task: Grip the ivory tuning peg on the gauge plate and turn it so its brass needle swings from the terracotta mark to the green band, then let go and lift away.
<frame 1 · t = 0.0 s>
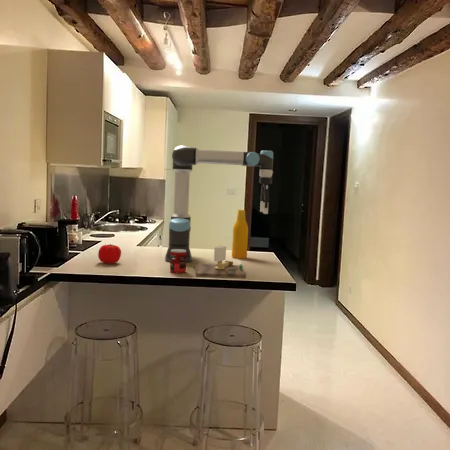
hand: (263, 212, 280), 28 cm above the countertop, tool pointing down, fingers open, 13 cm apart
tomato: (109, 263, 251), on the countertop
beer bottle: (239, 257, 285), on the countertop
canned food: (177, 272, 236), on the countertop
tuning peg: (222, 256, 243), point 7 cm above the countertop, hinge at -30.0°
gauge plate: (219, 271, 241), on the countertop
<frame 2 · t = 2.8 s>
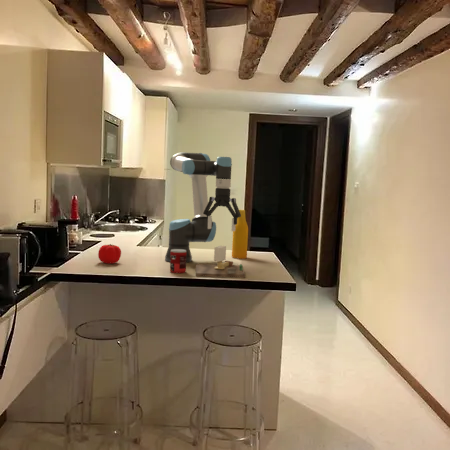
hand: (221, 229, 238), 22 cm above the countertop, tool pointing down, fingers open, 13 cm apart
nothing on the countertop moved.
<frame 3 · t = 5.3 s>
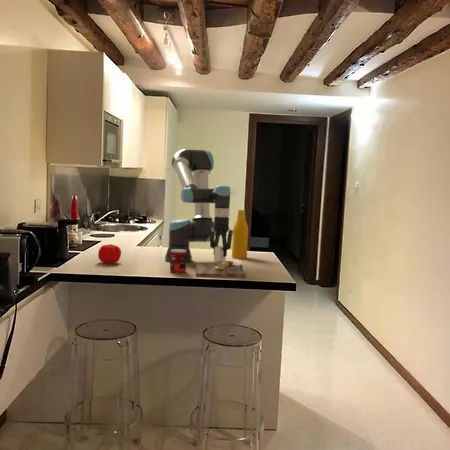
hand: (219, 262, 240), 5 cm above the countertop, tool pointing down, fingers closed on tuning peg, 3 cm apart
tuning peg: (222, 256, 243), point 7 cm above the countertop, hinge at -30.0°, touching gripper
everything else where it was.
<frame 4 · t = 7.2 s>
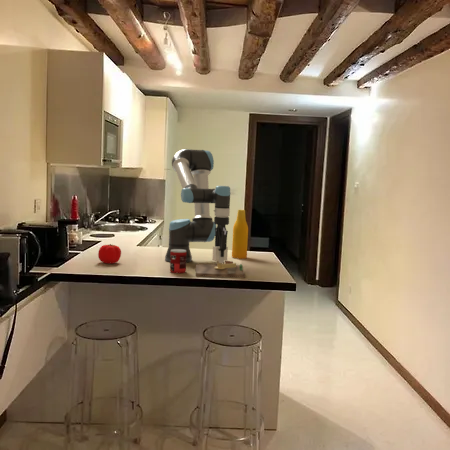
hand: (219, 262, 240), 5 cm above the countertop, tool pointing down, fingers closed on tuning peg, 4 cm apart
tuning peg: (225, 257, 242), point 7 cm above the countertop, hinge at -60.8°, touching gripper
everything else where it was.
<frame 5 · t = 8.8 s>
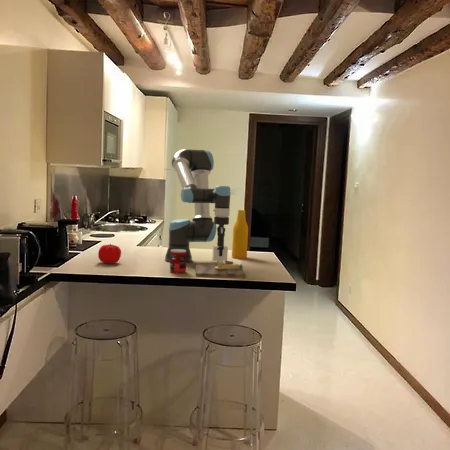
hand: (219, 260, 240), 6 cm above the countertop, tool pointing down, fingers open, 8 cm apart
tuning peg: (226, 257, 241), point 7 cm above the countertop, hinge at -80.6°
everything else where it was.
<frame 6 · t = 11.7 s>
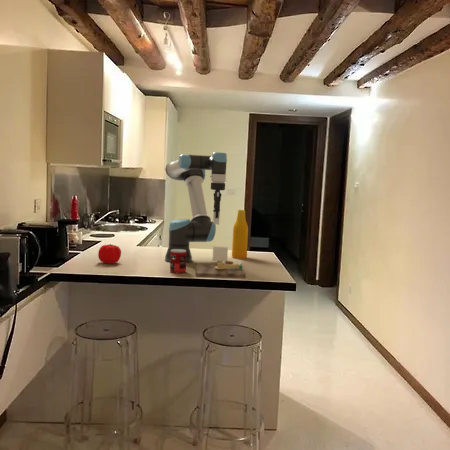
hand: (215, 222, 248), 24 cm above the countertop, tool pointing down, fingers open, 13 cm apart
nothing on the countertop moved.
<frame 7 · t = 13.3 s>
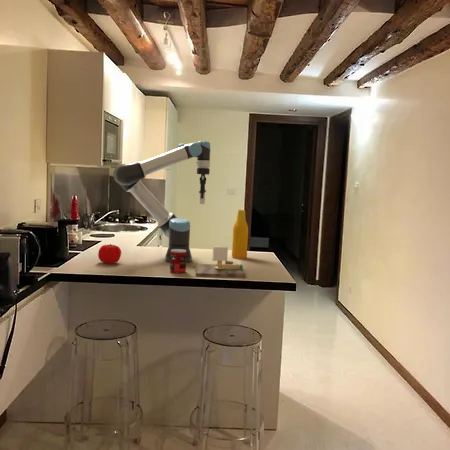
hand: (202, 203, 282), 32 cm above the countertop, tool pointing down, fingers open, 13 cm apart
nothing on the countertop moved.
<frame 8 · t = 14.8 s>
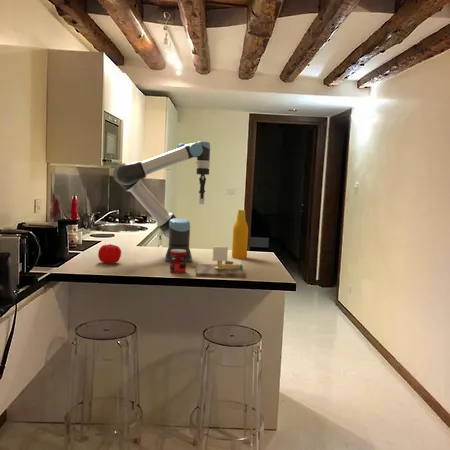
hand: (201, 203, 282), 32 cm above the countertop, tool pointing down, fingers open, 13 cm apart
nothing on the countertop moved.
at the end: tuning peg at -81° (first picture: -30°); the gripper is holding nothing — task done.
